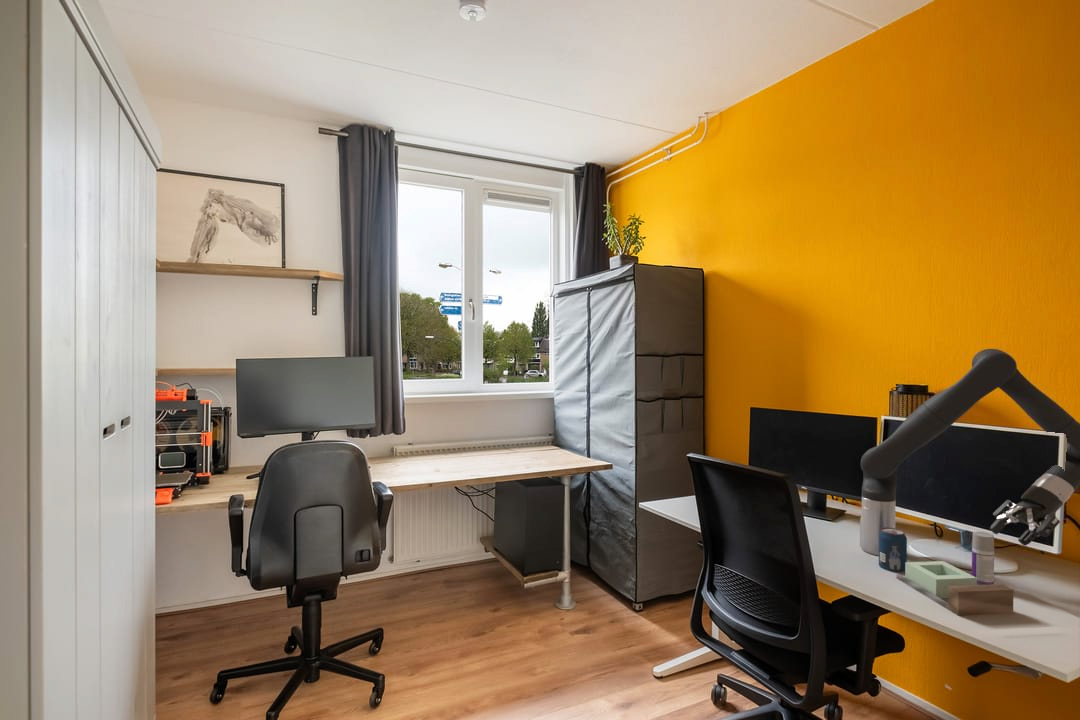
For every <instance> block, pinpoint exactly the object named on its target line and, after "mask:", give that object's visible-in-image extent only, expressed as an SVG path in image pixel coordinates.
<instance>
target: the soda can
mask: <svg viewBox="0 0 1080 720" xmlns="http://www.w3.org/2000/svg"><path fill="white" fill-rule="evenodd" d="M907 560H908V539H907V536H906V534H905V530H902V529H900V528H896V527H895V528H888V527H887V528H882V529H881V532H880V533H879V555H878V566H879V568H881V569H882V570H885V571H889V572H893V573H905V562H908V561H907Z"/></svg>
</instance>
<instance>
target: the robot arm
mask: <svg viewBox="0 0 1080 720" xmlns="http://www.w3.org/2000/svg"><path fill="white" fill-rule="evenodd" d="M1017 366H1018V364H1017V362H1016V360H1015V359H1014V358H1013V356H1011V355H1010V354H1008V353H1007V352H1005V351H1003V350H1001V349H998V348H986V349H982V350H980V351H978V352H977V353H976V354H975V355H974V356H973V357H972V360H971V368H970V369H969V370H968V371H967V372H966V373H965V374H964V375H963V376H962V377H961V378H960V379H959V380H957V382H955V383H954V384H952V385H951V386H949V387H947V388H946V389H944V390H941V391H940V392H938V393H935V394H934V395H933V396H931V397H929V398H928V399H926V400H925V401H924V402H923V403H922V404H921V405H919V406H918V407H917V408H916V409H915V410H914V411H913V412H911V413H910V414H909V415H908V416H907V417H906V419H904V421H903V422H901V424H900V425H899V426H898V427H897V428H896V429H895V431H894V432H893V433H892V434H891V435H890V436H889V437H888V438H887V439H885V440H884V441H882V442H881V443H880V444H878V445H877V446H874V447H871V448H869V449H868V450H866V451H865V453H864V454H863V455H862V456H861V459H860V468H861V471H862V472H863V475H862V476H863V479H862V486H861V517H860V518H859V546H860V547H861V550H862V551H864V552H866V553H868V554H871V555H875V556H879V533H880V532H881V529H882V528H887V527H888V528H896V501H897V500H896V495H897V494H896V493H897V484H898V483H897V477H898V475H897V474H898V467H899V466H900V465H901V464H902V463H903V462H904V461H905V460H906V459H907V458H908V457H909V456H911V455H912V454H913V453H914V452H916V451H917V450H918V449H921V448H922V447H924V446H925V445H927V444H928V443H929V442H931V441H932V440H935V438H937V437H938V436H939V435H941V434H942V433H944V432H945V431H947V429H948V428H950V427H951V426H952V425H953V424H955V422H957V421H958V420H959V419H960V418H961V417H963V415H964V414H966V413H967V412H968V411H969V410H970V409H971V408H972V407H973V406H974V405H975V404H976V403H978V402H979V401H981V400H982V399H983V398H984V397H986V396H987V395H989V394H990V393H993V392H994V391H995V390H997V389H998V388H999V389H1000V390H1001V391H1002V392H1003V393H1005V394H1006V395H1007V396H1008V397H1009V398H1011V400H1012V401H1014V403H1015V404H1017V405H1018V406H1019V408H1021V410H1022V411H1023V412H1024V413H1026V414H1027V416H1028V417H1029V418H1030V419H1031V420H1033V422H1035V424H1037V426H1039V427H1040V428H1041V429H1042V430H1043V431H1044V432H1045V431H1046V432H1045V433H1047V432H1055V433H1064V434H1066V438H1067V442H1066V443H1067V452H1066V462H1065V471H1064V469H1062V467H1060V466H1058V465H1054V466H1052V465H1051V466H1052V467H1051V466H1050V467H1051V468H1050V467H1049V468H1050V469H1049V468H1048V469H1049V470H1048V469H1047V470H1046V471H1045V473H1043V474H1042V475H1041V476H1039V478H1037V479H1036V480H1035V482H1034V483H1032V484H1031V485H1030V487H1029V488H1028V489H1026V491H1025V492H1024V493H1023V494H1022V495H1021V496H1020V501H1019V502H1018V503H1014V502H1012V501H1011V500H1010V499H1006V500H1005V501H1004V502H1003V503H1002V504H1001V505H1000V506H999V507H998V508H997V509H996V510H995V511H994V512H992V515H993V516H994V517H995V518H996V519H995V521H994V522H993V523H992V524H991V526H990V527H989V530H990V531H991V532H992V534H993V535H994V534H995V535H999V534H1000V532H1001V531H1002V530H1003V529H1004V528H1005V527H1006V525H1009V524H1011V523H1014V524H1017V523H1021V524H1026V525H1027V526H1028V529H1025V531H1024V532H1023V534H1021V535H1020V537H1018V542H1019V544H1021V545H1023V546H1027V545H1029V544H1030V543H1031V542H1032V541H1034V540H1035V539H1036V537H1040V536H1041V537H1044V538H1048V537H1049V536H1050V534H1052V532H1053V531H1054V530H1055V529H1056V527H1057V526H1058V525H1059V524H1060V523H1061V521H1060V520H1059V519H1058V517H1057V516H1056V515H1055V514H1056V513H1057V511H1058V510H1059V509H1060V508H1061V507H1063V505H1064V504H1065V503H1066V502H1067V501H1068V500H1069V499H1070V498H1071V496H1072V495H1073V493H1074V492H1075V491H1076V490H1077V489H1078V487H1079V486H1080V422H1078V421H1077V420H1076V419H1075V418H1074V417H1073V416H1072V415H1071V414H1069V412H1067V411H1066V409H1064V408H1063V407H1061V405H1060V404H1058V403H1057V402H1056V401H1054V399H1051V398H1050V396H1049V395H1046V394H1045V393H1044V392H1043V391H1041V390H1040V389H1039V388H1038V387H1037V386H1035V385H1034V384H1033V383H1031V381H1030V380H1029V379H1027V378H1026V377H1025V375H1023V374H1022V373H1021V372H1020V371H1019V369H1018V368H1017Z"/></svg>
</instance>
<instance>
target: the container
mask: <svg viewBox="0 0 1080 720" xmlns="http://www.w3.org/2000/svg"><path fill="white" fill-rule="evenodd" d="M994 536H995V535H994V534H993V533H992V534H991V533H989V532H984V531H973V532H972V541H971V542H972V545H971V547H972V548H971V575H972V576H974V577H976V578H977V585H993V584H994V583H995V537H994Z"/></svg>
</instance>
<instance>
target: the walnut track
mask: <svg viewBox="0 0 1080 720" xmlns="http://www.w3.org/2000/svg"><path fill="white" fill-rule="evenodd" d="M895 576H896V578H895V579H897V580H898V581H901V582H902V583H903V584H904V585H907V586H908V587H910V588H911V589H913V590H914V591H916V592H918V593H920V594H922V595H923V596H925V597H926V598H928V599H930V600H931V601H933V602H935V603H936V604H938V605H940V606H941V607H943V608H944V609H946V610H947V611H950V613H953V614H955V615H956V617H957V616H958V617H965V616H989V615H990V616H991V615H992V616H993V615H1011V614H1012V615H1013V614H1014V596H1015V593H1014V588H1011V587H1009V586H1007V585H1005V584H1004V583H1001V584H998V583H996V584H993V585H967V586H949V595H948V598H947V600H948V602H947V601H945V600H944V599H943V598H939V597H937V596H935V595H934V594H932V593H930V592H929V591H927V590H925V589H924V588H922V587H920V586H919V585H917V584H915V583H913V582H912V581H910V580H908V579H907V578H905V576H904V575H901V574H896V575H895Z"/></svg>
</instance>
